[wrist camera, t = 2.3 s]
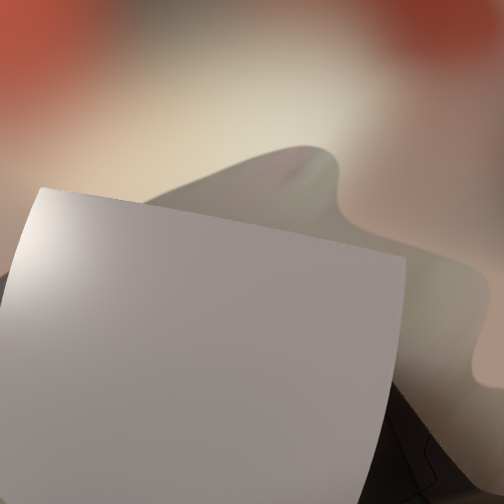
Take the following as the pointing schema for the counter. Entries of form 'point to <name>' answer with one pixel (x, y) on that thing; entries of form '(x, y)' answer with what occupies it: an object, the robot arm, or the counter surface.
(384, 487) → the robot arm
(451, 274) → the counter surface
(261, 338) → the tall square pillar
